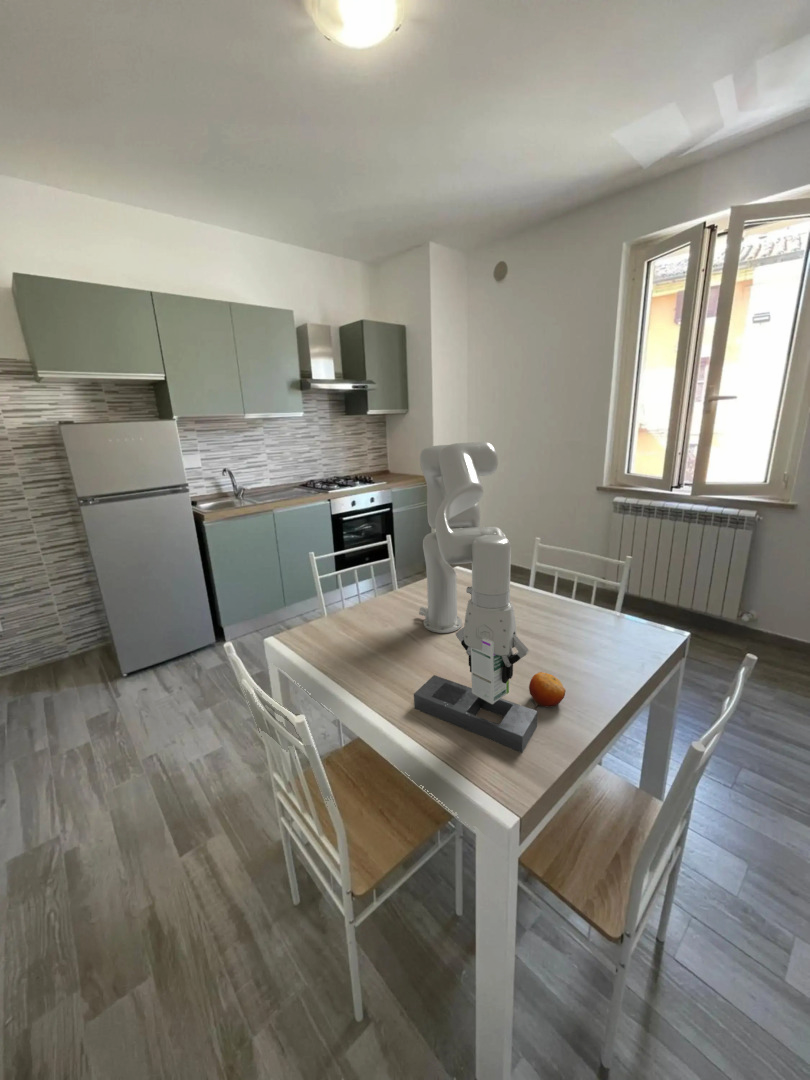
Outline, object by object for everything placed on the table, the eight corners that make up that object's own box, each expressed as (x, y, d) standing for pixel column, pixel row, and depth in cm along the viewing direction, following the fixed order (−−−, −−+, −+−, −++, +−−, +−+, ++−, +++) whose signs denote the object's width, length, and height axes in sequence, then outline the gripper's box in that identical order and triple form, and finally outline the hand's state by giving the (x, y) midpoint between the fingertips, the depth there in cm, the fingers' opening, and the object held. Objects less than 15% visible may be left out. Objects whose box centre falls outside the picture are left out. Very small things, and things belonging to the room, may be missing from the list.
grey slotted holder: (414, 708, 100) (413, 693, 98) (434, 688, 107) (434, 674, 105) (522, 753, 85) (522, 736, 84) (537, 726, 92) (537, 710, 91)
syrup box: (492, 705, 87) (493, 642, 84) (470, 693, 92) (470, 632, 88) (509, 693, 91) (510, 632, 87) (487, 682, 95) (487, 623, 91)
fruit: (516, 688, 103) (533, 662, 101) (542, 700, 104) (560, 674, 103) (528, 709, 95) (547, 681, 94) (556, 722, 97) (575, 694, 95)
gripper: (444, 594, 87) (445, 671, 92) (526, 612, 78) (523, 697, 82) (461, 583, 93) (462, 655, 98) (539, 598, 83) (536, 678, 88)
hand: (490, 674), depth 90 cm, fingers closed on syrup box, 6 cm apart
